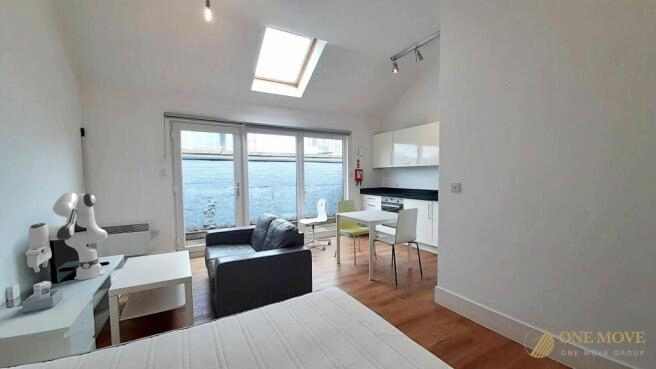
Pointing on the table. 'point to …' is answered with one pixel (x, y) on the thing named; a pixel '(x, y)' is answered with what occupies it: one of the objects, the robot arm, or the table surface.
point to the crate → (42, 302)
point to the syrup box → (42, 290)
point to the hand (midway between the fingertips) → (41, 269)
